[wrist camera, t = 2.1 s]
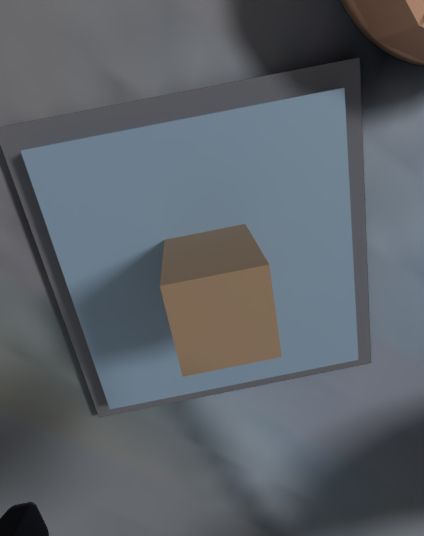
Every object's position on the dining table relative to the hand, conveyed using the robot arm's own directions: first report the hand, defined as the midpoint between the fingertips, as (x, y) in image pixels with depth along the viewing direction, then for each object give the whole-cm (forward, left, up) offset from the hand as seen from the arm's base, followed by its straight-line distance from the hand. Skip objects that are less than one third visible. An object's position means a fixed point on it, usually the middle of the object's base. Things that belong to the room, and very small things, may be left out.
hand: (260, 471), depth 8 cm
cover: (0, 0, -12) cm, 12 cm away
